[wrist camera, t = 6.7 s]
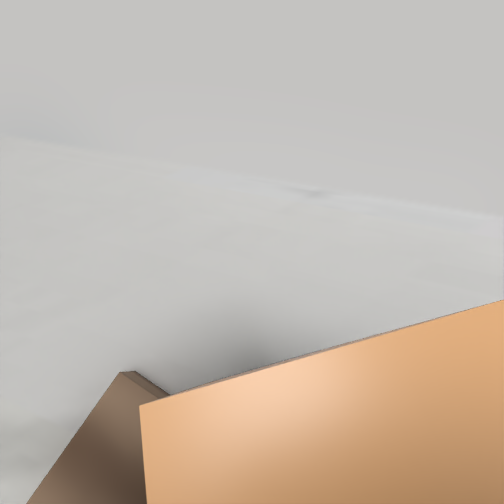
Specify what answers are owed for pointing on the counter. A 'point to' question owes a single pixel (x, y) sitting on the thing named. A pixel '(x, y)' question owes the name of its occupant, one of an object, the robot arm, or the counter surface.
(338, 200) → the counter surface
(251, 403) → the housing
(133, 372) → the walnut stand
